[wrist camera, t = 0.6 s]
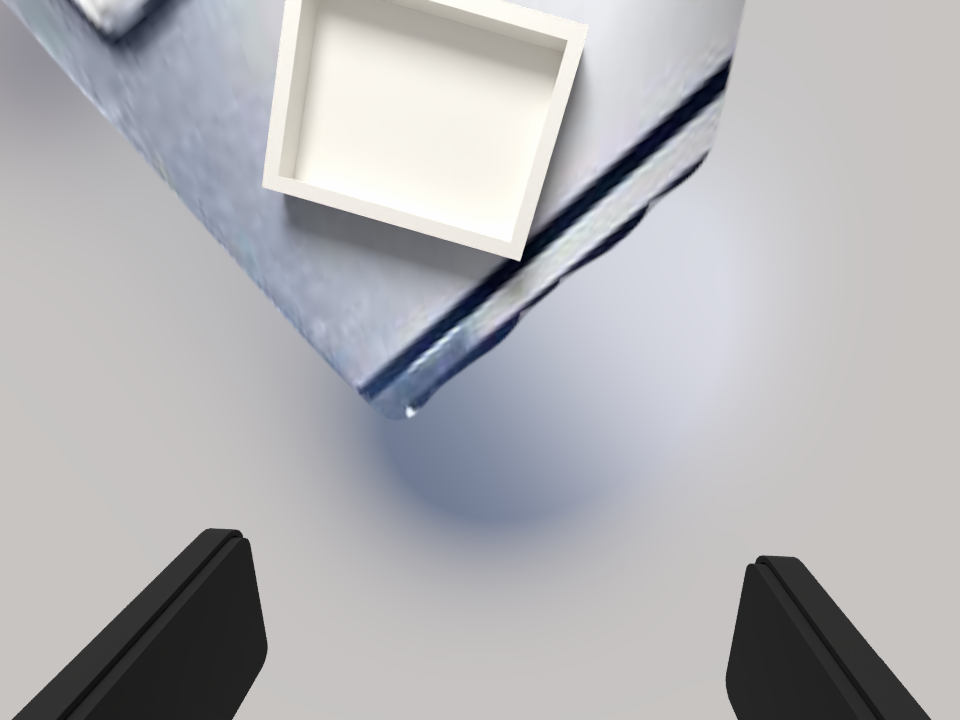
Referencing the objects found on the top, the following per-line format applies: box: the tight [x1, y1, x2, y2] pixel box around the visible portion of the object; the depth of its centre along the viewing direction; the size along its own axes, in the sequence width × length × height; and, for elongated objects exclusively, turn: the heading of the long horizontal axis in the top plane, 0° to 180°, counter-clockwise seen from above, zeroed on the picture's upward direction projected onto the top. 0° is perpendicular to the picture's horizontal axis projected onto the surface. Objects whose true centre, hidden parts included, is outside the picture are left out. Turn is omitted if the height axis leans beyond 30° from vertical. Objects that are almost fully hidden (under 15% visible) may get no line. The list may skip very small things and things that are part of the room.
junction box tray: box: [262, 0, 590, 261], centre depth 31 cm, size 14×18×3 cm
